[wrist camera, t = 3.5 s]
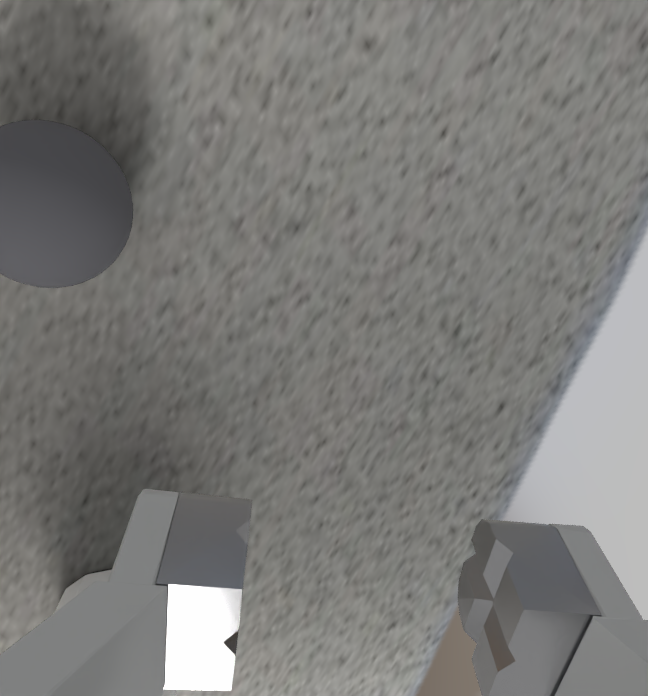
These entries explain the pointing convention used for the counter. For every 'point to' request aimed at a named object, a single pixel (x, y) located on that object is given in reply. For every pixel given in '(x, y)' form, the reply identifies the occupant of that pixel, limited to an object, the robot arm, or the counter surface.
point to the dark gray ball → (59, 205)
